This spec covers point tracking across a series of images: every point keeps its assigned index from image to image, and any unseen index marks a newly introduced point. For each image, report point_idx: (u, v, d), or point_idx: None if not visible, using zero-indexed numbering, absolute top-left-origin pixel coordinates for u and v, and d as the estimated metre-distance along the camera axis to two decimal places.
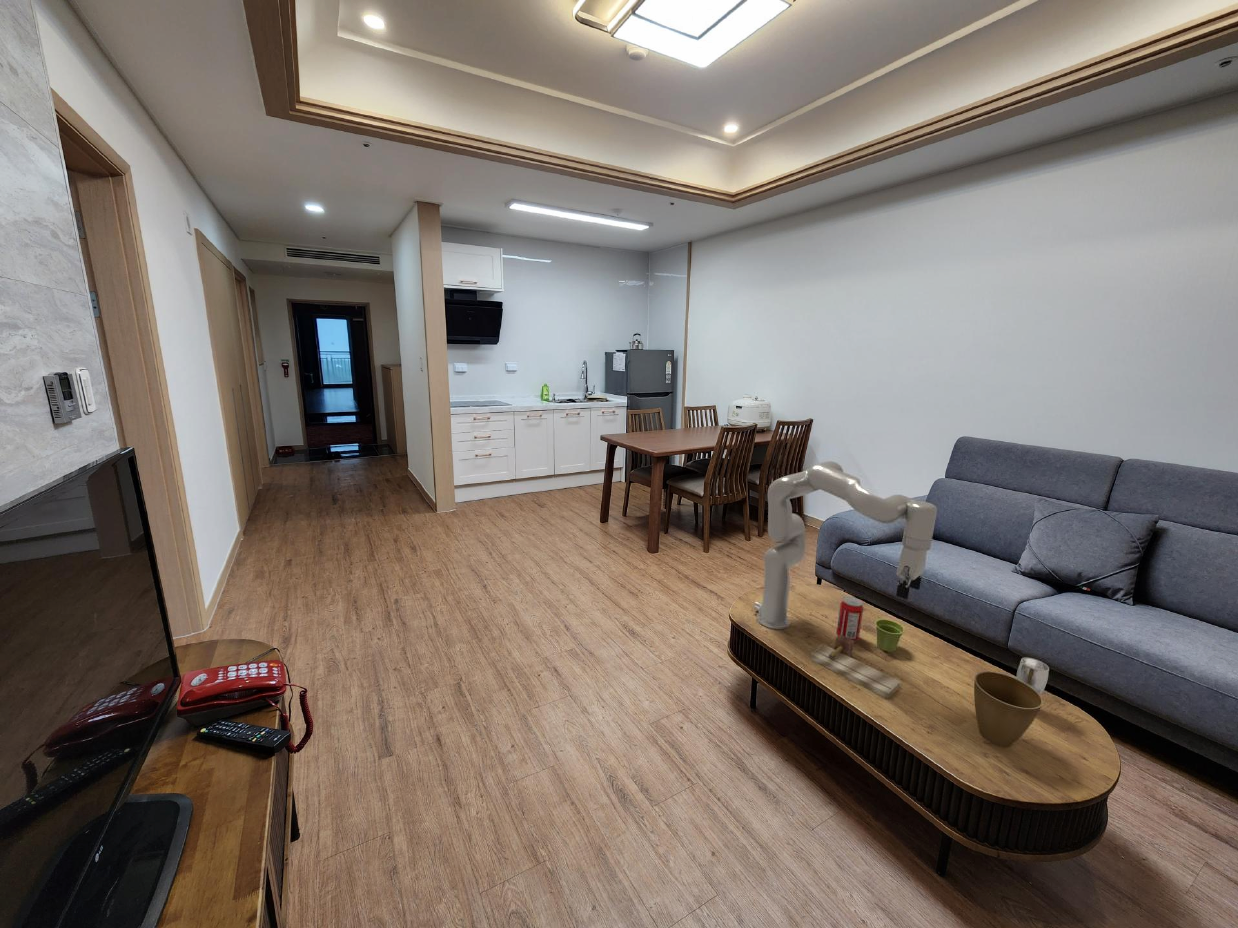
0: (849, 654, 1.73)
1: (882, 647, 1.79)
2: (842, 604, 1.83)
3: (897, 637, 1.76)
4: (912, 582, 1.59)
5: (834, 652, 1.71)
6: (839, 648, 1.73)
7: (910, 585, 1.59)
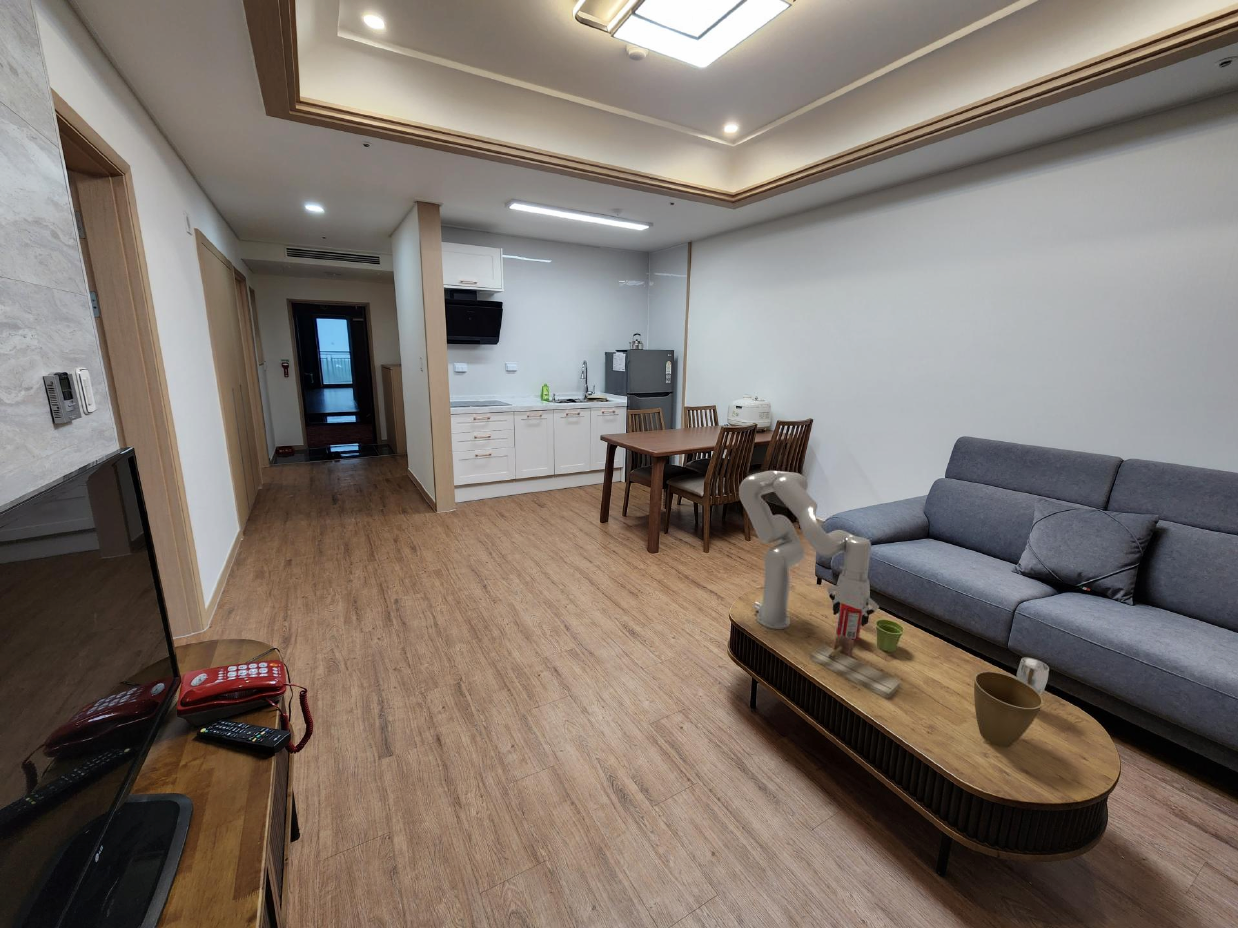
0: (849, 654, 1.73)
1: (882, 647, 1.79)
2: (842, 604, 1.83)
3: (897, 637, 1.76)
4: (837, 609, 1.75)
5: (834, 652, 1.71)
6: (839, 648, 1.73)
7: (836, 612, 1.75)
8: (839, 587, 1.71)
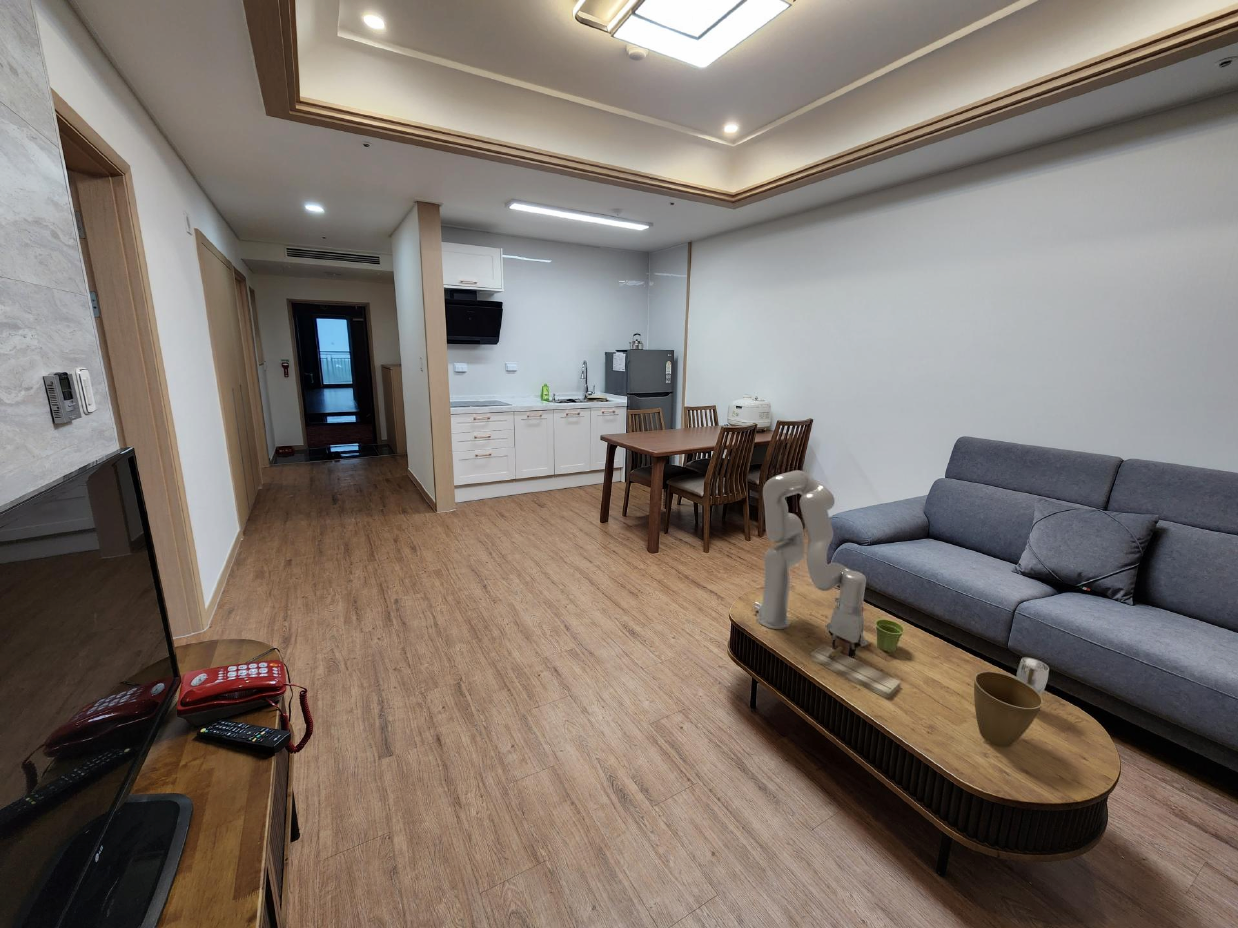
0: None
1: (882, 647, 1.79)
2: None
3: (897, 637, 1.76)
4: None
5: (834, 652, 1.71)
6: (839, 648, 1.73)
7: None
8: (834, 619, 1.74)
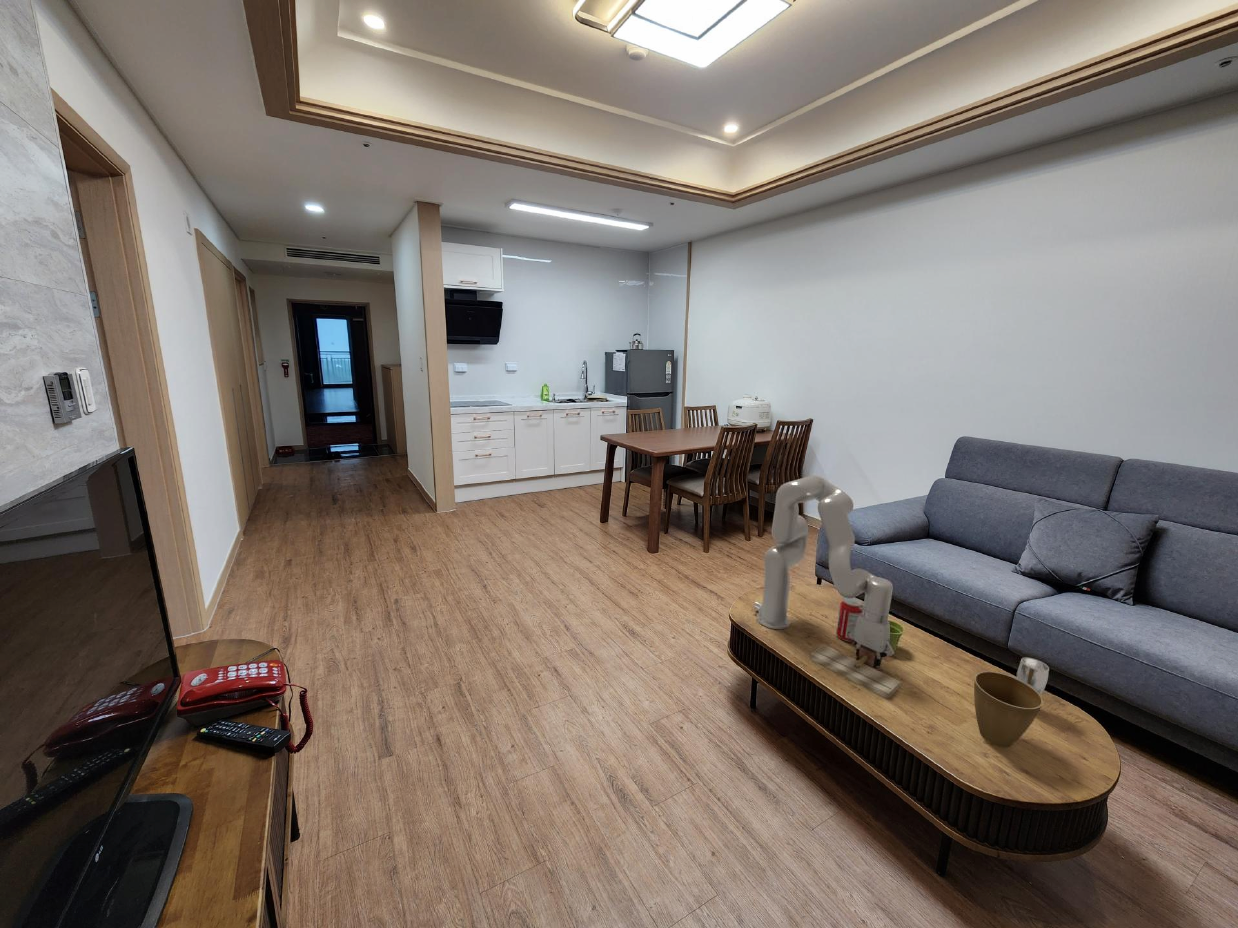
0: None
1: None
2: (842, 604, 1.83)
3: (897, 637, 1.76)
4: None
5: (859, 662, 1.64)
6: (864, 658, 1.66)
7: None
8: (858, 628, 1.67)
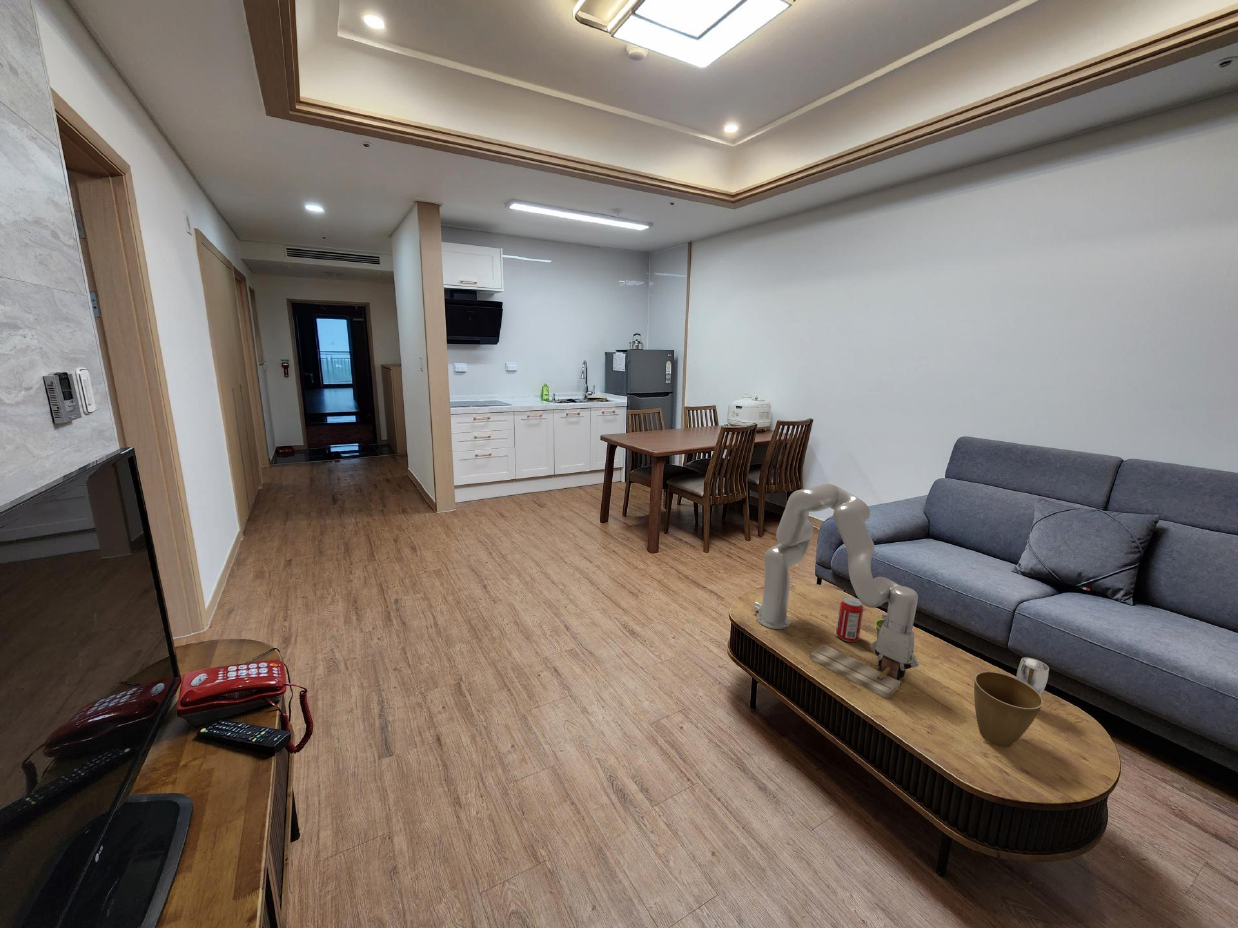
0: None
1: None
2: (842, 604, 1.83)
3: None
4: None
5: (882, 674, 1.59)
6: (887, 669, 1.61)
7: None
8: (881, 638, 1.62)
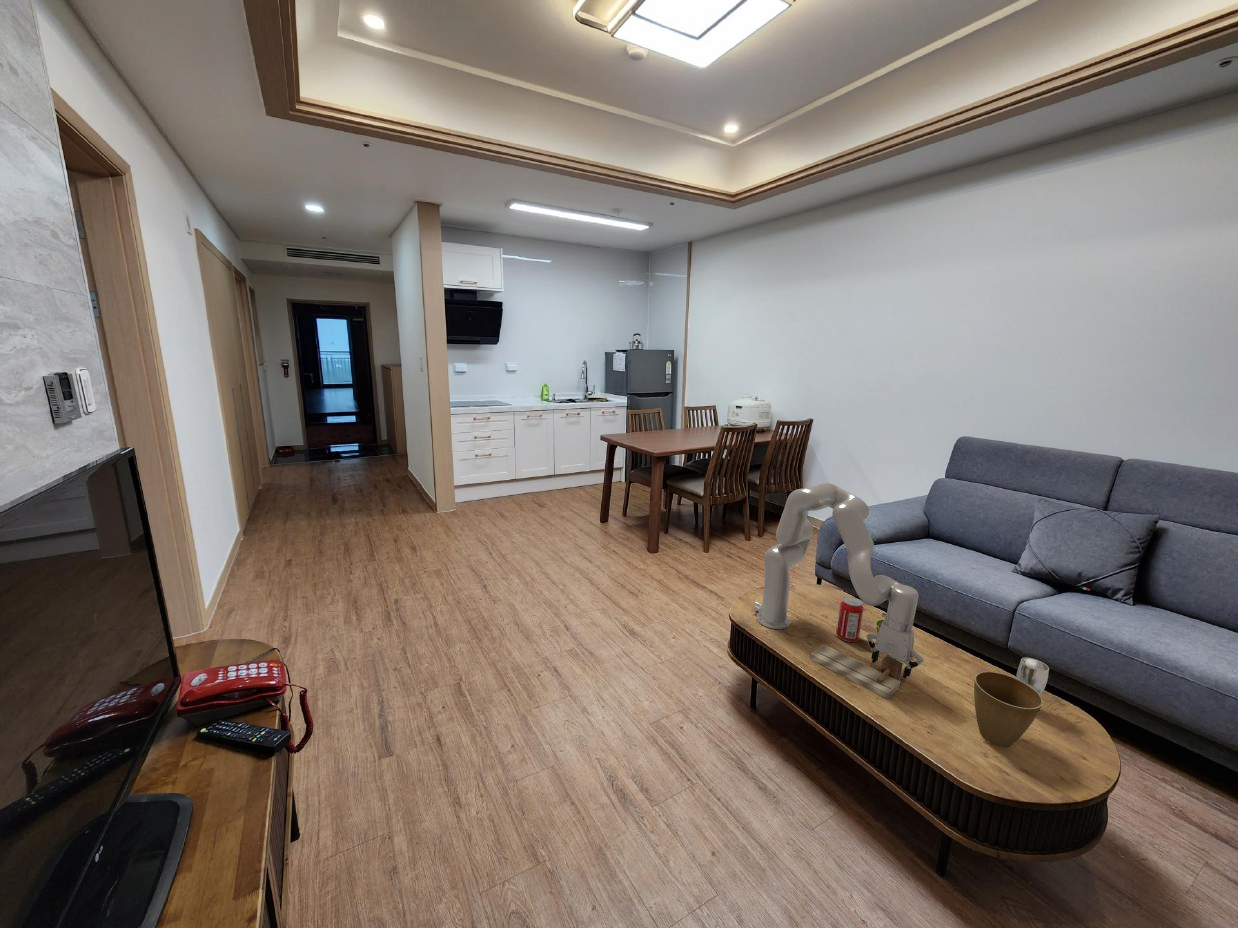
0: (897, 677, 1.62)
1: None
2: (842, 604, 1.83)
3: None
4: (876, 657, 1.66)
5: (882, 676, 1.59)
6: (887, 671, 1.61)
7: (875, 661, 1.66)
8: (881, 636, 1.62)
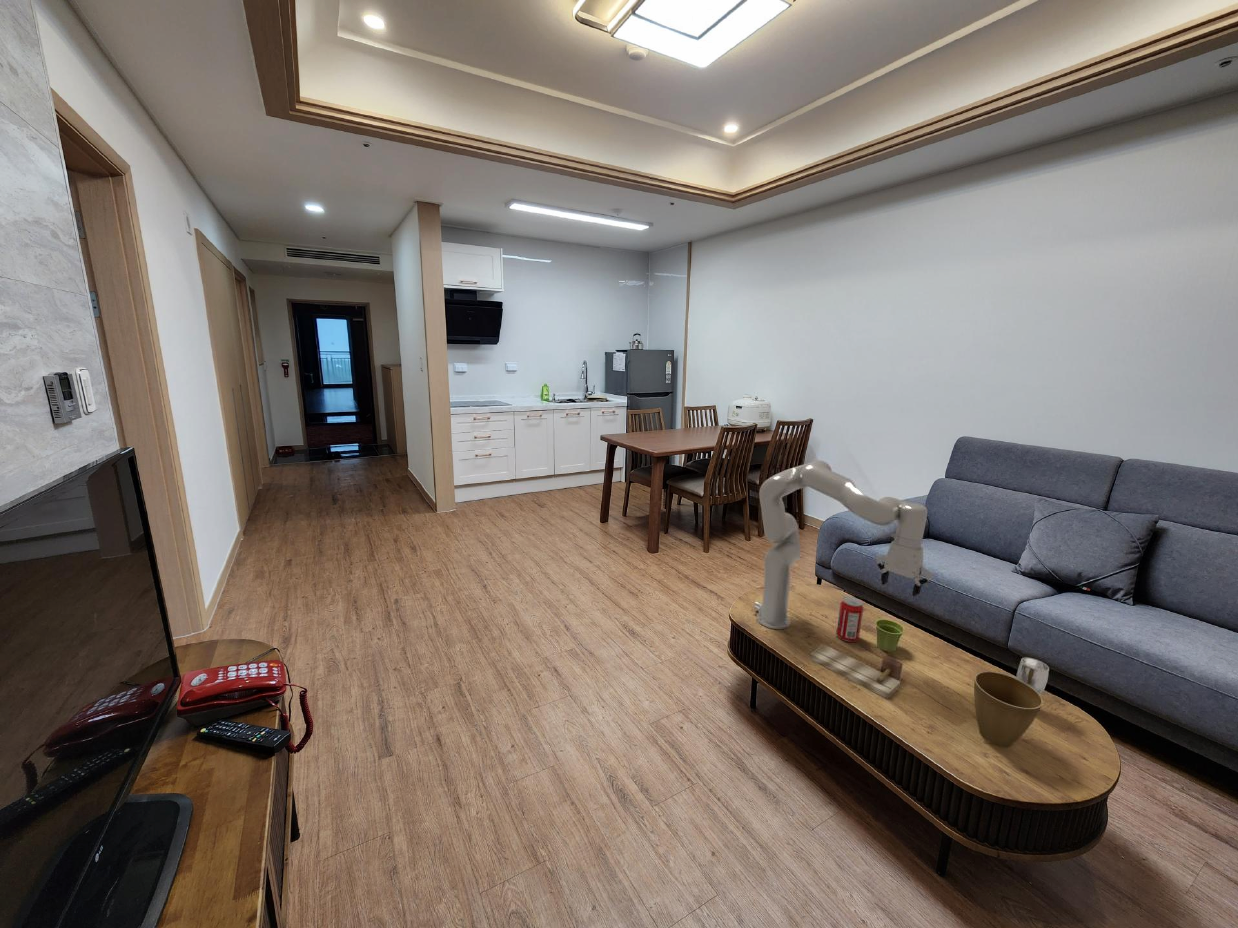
0: (897, 677, 1.62)
1: (882, 647, 1.79)
2: (842, 604, 1.83)
3: (897, 637, 1.76)
4: (885, 579, 1.68)
5: (882, 676, 1.59)
6: (887, 671, 1.61)
7: (884, 582, 1.68)
8: (890, 555, 1.64)
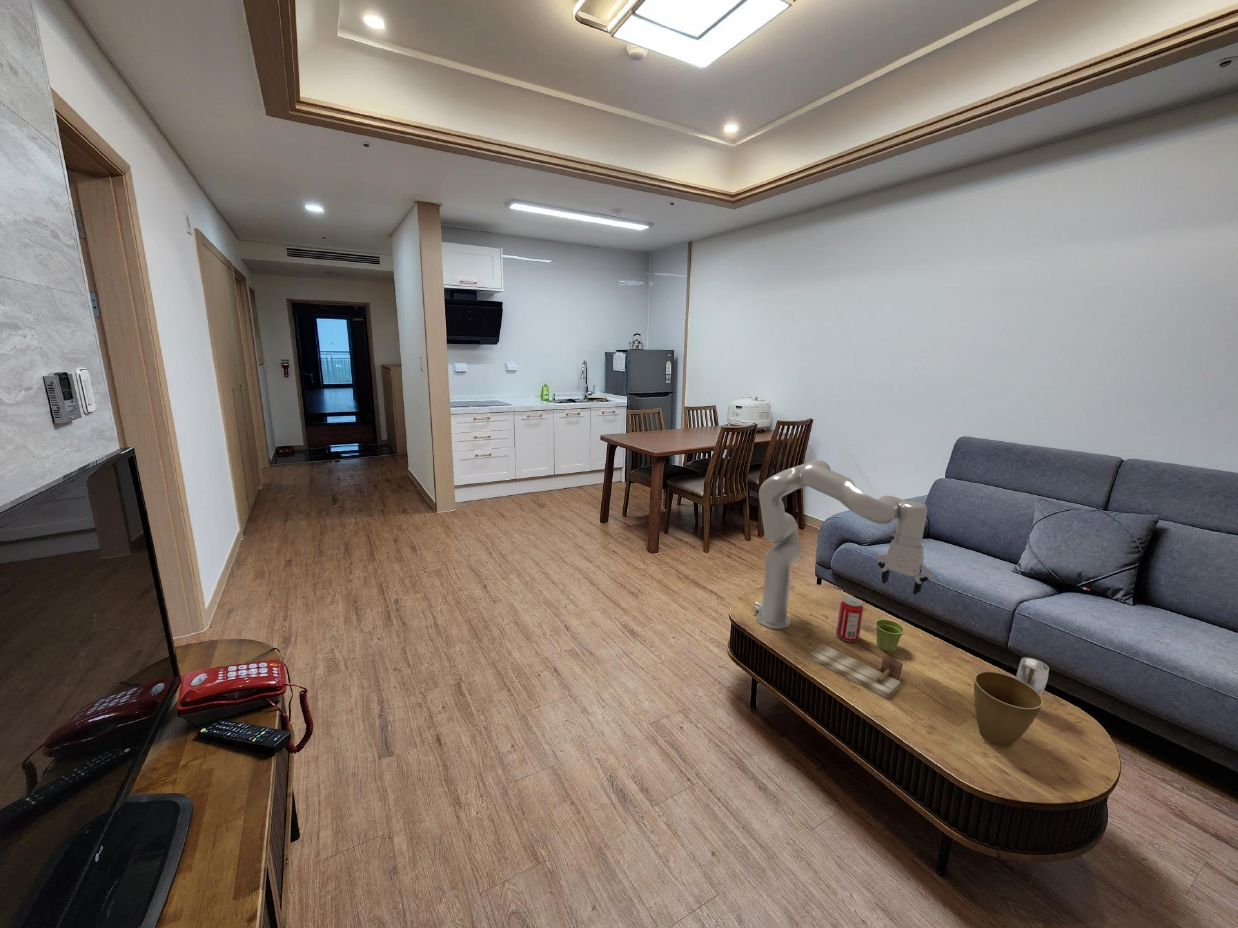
0: (897, 677, 1.62)
1: (882, 647, 1.79)
2: (842, 604, 1.83)
3: (897, 637, 1.76)
4: (886, 577, 1.68)
5: (882, 676, 1.59)
6: (887, 671, 1.61)
7: (885, 581, 1.68)
8: (890, 554, 1.64)
